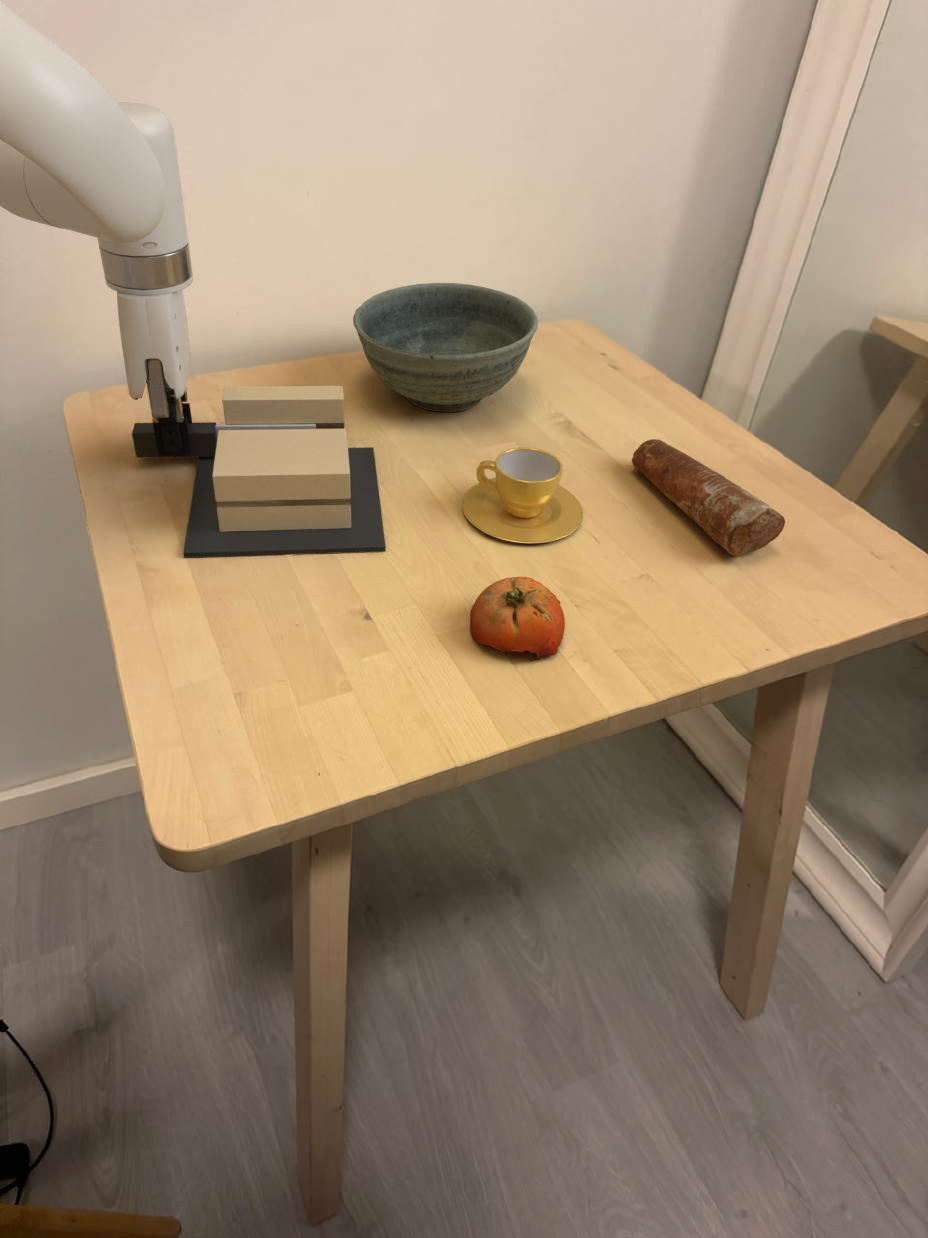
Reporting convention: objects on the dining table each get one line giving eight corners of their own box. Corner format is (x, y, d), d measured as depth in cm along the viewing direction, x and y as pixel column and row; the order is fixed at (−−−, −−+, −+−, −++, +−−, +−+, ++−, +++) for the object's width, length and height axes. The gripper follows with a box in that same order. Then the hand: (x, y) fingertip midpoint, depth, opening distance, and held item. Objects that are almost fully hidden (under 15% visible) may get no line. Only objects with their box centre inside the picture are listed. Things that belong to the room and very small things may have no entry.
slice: (228, 452, 94) (222, 399, 90) (230, 438, 96) (224, 386, 92) (345, 451, 95) (344, 398, 91) (344, 437, 98) (342, 385, 94)
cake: (183, 558, 81) (173, 495, 76) (200, 454, 94) (191, 396, 90) (385, 551, 83) (386, 490, 79) (373, 451, 97) (373, 395, 93)
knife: (136, 458, 91) (131, 431, 89) (139, 447, 93) (134, 420, 91) (317, 455, 94) (315, 429, 92) (316, 445, 95) (315, 419, 93)
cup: (593, 493, 93) (601, 447, 90) (567, 558, 84) (575, 509, 81) (481, 469, 95) (485, 423, 92) (445, 529, 87) (448, 481, 83)
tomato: (447, 594, 76) (511, 542, 74) (498, 622, 81) (559, 573, 78) (473, 668, 72) (542, 615, 69) (525, 692, 76) (592, 644, 74)
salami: (728, 570, 84) (743, 521, 81) (619, 469, 97) (628, 422, 94) (781, 556, 87) (798, 507, 83) (668, 459, 99) (679, 413, 96)
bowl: (551, 432, 102) (563, 348, 96) (368, 444, 98) (367, 356, 92) (503, 354, 118) (510, 277, 111) (343, 361, 113) (341, 281, 107)
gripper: (116, 233, 86) (148, 410, 98) (87, 297, 74) (127, 490, 86) (198, 234, 87) (219, 409, 99) (182, 298, 75) (209, 488, 87)
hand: (176, 445), depth 92 cm, fingers closed on knife, 2 cm apart
